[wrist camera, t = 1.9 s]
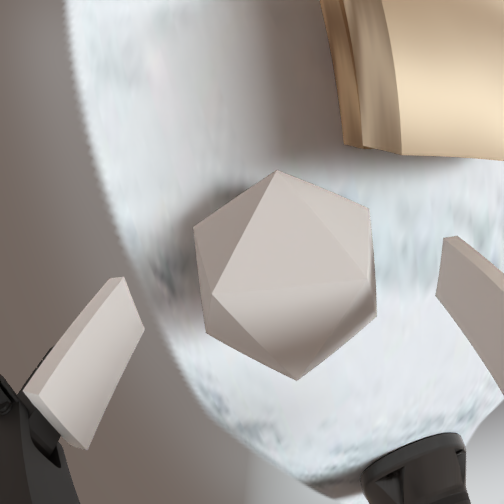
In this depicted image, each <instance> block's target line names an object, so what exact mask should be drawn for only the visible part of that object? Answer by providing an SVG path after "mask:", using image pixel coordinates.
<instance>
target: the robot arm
mask: <svg viewBox="0 0 504 504" xmlns="http://www.w3.org/2000/svg"><path fill="white" fill-rule="evenodd" d="M435 296H436V297H437V298H438V300H439V301H440V302H441V303H442V305H443V306H444V307H445V309H446V310H447V311H448V313H449V314H450V315H451V317H452V318H453V319H454V321H455V322H456V323H457V325H458V326H459V328H460V329H461V330H462V332H463V333H464V335H465V336H466V337H467V339H468V340H469V342H470V343H471V345H472V346H473V347H474V349H475V350H476V352H477V353H478V355H479V356H480V358H481V359H482V361H483V362H484V364H485V366H486V367H487V369H488V370H489V372H490V373H491V375H492V377H493V378H494V380H495V381H496V383H497V385H498V386H499V388H500V390H501V391H502V393H503V395H504V274H503V273H502V272H501V271H500V270H499V269H498V268H497V267H495V266H494V265H493V264H492V263H491V262H489V261H488V260H487V259H486V258H485V257H483V256H482V255H481V254H480V253H479V252H477V251H476V250H475V249H474V248H472V247H471V246H470V245H469V244H467V243H466V242H465V241H463V240H462V239H461V238H459V237H458V236H454V237H446V238H443V246H442V255H441V263H440V270H439V277H438V284H437V290H436V295H435ZM144 330H145V328H144V326H143V324H142V321H141V319H140V316H139V314H138V311H137V309H136V306H135V304H134V301H133V299H132V296H131V294H130V291H129V288H128V285H127V283H126V280H125V277H117V278H110V279H109V280H108V281H107V282H106V283H105V284H104V285H103V287H102V288H101V289H100V290H99V291H98V292H97V294H96V295H95V296H94V297H93V299H92V300H91V301H90V302H89V303H88V305H87V306H86V307H85V308H84V309H83V310H82V312H81V313H80V314H79V315H78V317H77V318H76V319H75V320H74V322H73V323H72V324H71V325H70V327H69V328H68V329H67V330H66V332H65V333H64V335H63V336H62V337H61V338H60V340H59V341H58V342H57V344H56V345H54V346H53V347H52V348H51V349H50V350H49V351H48V352H47V354H46V355H45V356H44V358H43V361H41V362H40V363H39V365H38V366H37V367H38V368H36V369H35V370H34V371H33V373H32V374H31V376H30V377H29V378H28V380H27V381H26V383H25V384H24V386H23V387H22V389H21V390H20V392H19V393H18V394H17V395H16V393H15V392H14V391H13V389H12V388H11V387H10V385H9V384H8V383H7V381H6V380H5V379H4V377H3V376H2V375H1V374H0V504H80V502H79V499H78V496H77V494H76V491H75V488H74V485H73V482H72V479H71V475H70V472H69V469H68V465H67V462H66V458H65V454H64V450H63V448H62V446H61V444H60V443H59V442H58V440H59V438H60V436H62V437H63V438H64V439H65V441H66V442H67V443H68V444H69V445H71V446H74V447H77V448H80V449H84V450H88V448H89V445H90V443H91V441H92V438H93V436H94V434H95V432H96V429H97V427H98V425H99V423H100V421H101V418H102V416H103V414H104V412H105V410H106V407H107V405H108V403H109V401H110V399H111V397H112V395H113V392H114V390H115V388H116V386H117V384H118V382H119V380H120V378H121V376H122V374H123V372H124V370H125V368H126V366H127V364H128V362H129V359H130V357H131V356H132V354H133V351H134V350H135V348H136V346H137V344H138V342H139V340H140V338H141V336H142V334H143V332H144ZM360 480H361V486H362V492H363V494H364V496H365V497H366V499H367V500H368V502H369V504H471V503H470V499H469V497H468V493H467V490H466V448H465V445H464V443H463V440H462V438H461V436H460V435H459V434H456V433H446V434H440V435H436V436H432V437H429V438H426V439H423V440H420V441H418V442H415V443H413V444H410V445H408V446H405V447H403V448H401V449H399V450H397V451H395V452H393V453H391V454H389V455H387V456H385V457H383V458H382V459H380V460H378V461H377V462H375V463H374V464H372V465H371V466H370V467H368V468H367V469H366V470H365V471H364V472H363V474H362V475H361V478H360Z"/></svg>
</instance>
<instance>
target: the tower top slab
mask: <svg viewBox="0 0 504 504" xmlns="http://www.w3.org/2000/svg"><path fill="white" fill-rule="evenodd" d="M343 2H344V7H345V11H346V16H347V21H348V26H349V32H350V37H351V43H352V49H353V56H354V62H355V70H356V77H357V85H358V94H359V103H360V114H361V126H362V140H363V146H367V147H371V148H375V149H379V150H383V151H388V152H392V153H395V154H399V155H418V156H446V157H463V158H477V159H488V160H499V161H504V0H343Z"/></svg>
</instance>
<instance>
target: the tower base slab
mask: <svg viewBox="0 0 504 504" xmlns="http://www.w3.org/2000/svg"><path fill="white" fill-rule="evenodd" d="M320 4H321V9H322V13H323V17H324V22H325V26H326V31H327V36H328V41H329V46H330V51H331V56H332V62H333V68H334V74H335V80H336V86H337V93H338V100H339V107H340V115H341V123H342V132H343V141H344V144H345V145H349V146H353V147H357V148H361V149H375V148H371V147H367V146H363V140H362V126H361V114H360V103H359V94H358V85H357V77H356V70H355V62H354V56H353V49H352V43H351V37H350V32H349V26H348V21H347V16H346V11H345V7H344V2H343V0H320Z"/></svg>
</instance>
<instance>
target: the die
mask: <svg viewBox="0 0 504 504" xmlns="http://www.w3.org/2000/svg"><path fill="white" fill-rule="evenodd" d="M193 231H194V241H195V250H196V259H197V268H198V277H199V285H200V293H201V301H202V308H203V316H204V323H205V330H206V333H207V334H209V335H210V336H212V337H214V338H216V339H217V340H219V341H221V342H223V343H224V344H226V345H228V346H230V347H232V348H234V349H235V350H237V351H239V352H241V353H243V354H245V355H247V356H248V357H250V358H252V359H254V360H256V361H258V362H260V363H262V364H264V365H266V366H268V367H270V368H272V369H274V370H276V371H278V372H280V373H282V374H284V375H286V376H288V377H290V378H292V379H294V380H296V381H297V380H299V379H300V378H301V377H303V376H304V375H305V374H307V373H308V372H309V371H311V370H312V369H313V368H315V367H316V366H317V365H319V364H320V363H321V362H323V361H324V360H325V359H326V358H328V357H329V356H330V355H332V354H333V353H334V352H335V351H337V350H338V349H339V348H340V347H341V346H343V345H344V344H345V343H346V342H348V341H349V340H350V339H351V338H352V337H354V336H355V335H356V334H357V333H358V332H359V331H361V330H362V329H363V328H364V327H365V326H366V325H368V324H369V323H370V322H371V321H372V320H373V319H374V318H375V317H377V304H376V280H375V264H374V251H373V240H372V229H371V220H370V212H369V208H367V207H364V206H362V205H360V204H358V203H356V202H353V201H351V200H349V199H347V198H344V197H342V196H340V195H337V194H335V193H333V192H330V191H328V190H326V189H323V188H321V187H318V186H316V185H314V184H311V183H309V182H306V181H304V180H301V179H299V178H296V177H294V176H291V175H289V174H286V173H283V172H281V171H278V170H276V171H275V172H273V173H272V174H270V175H269V176H267V177H266V178H264V179H262V180H261V181H259V182H258V183H256V184H255V185H253V186H252V187H250V188H249V189H247V190H246V191H244V192H243V193H241V194H240V195H238V196H237V197H236V198H234V199H233V200H231V201H230V202H228V203H227V204H225V205H224V206H222V207H221V208H219V209H218V210H217V211H215V212H214V213H212V214H211V215H209V216H208V217H207V218H205V219H204V220H202V221H201V222H199V223H198V224H197V225H195V226H194V227H193Z"/></svg>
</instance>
